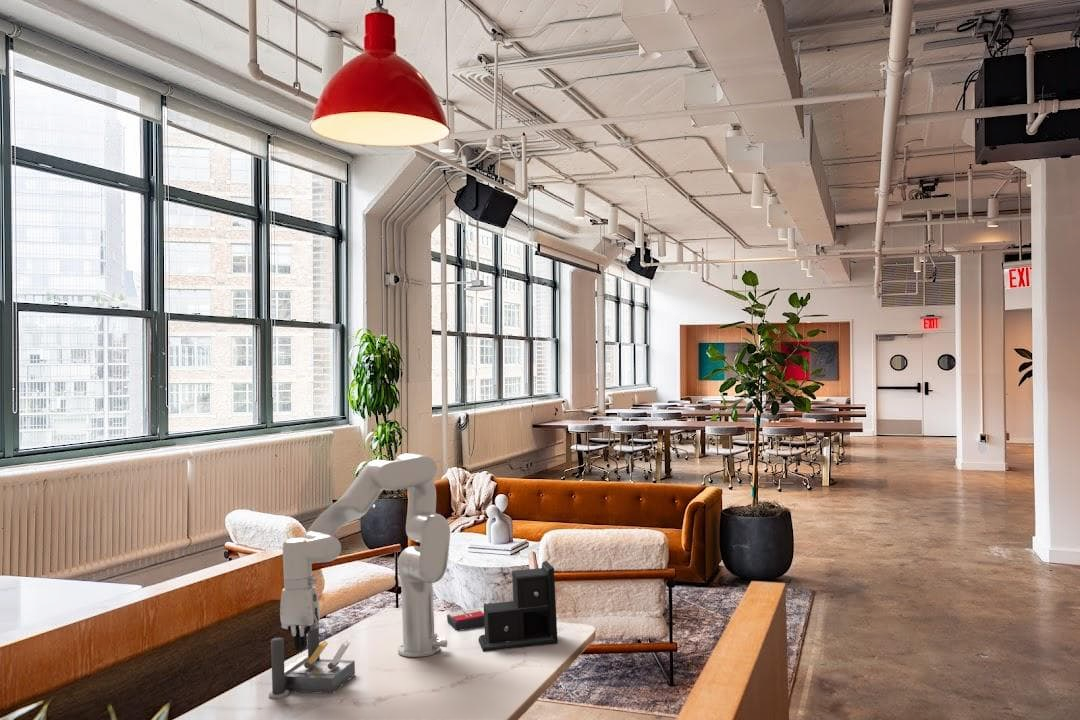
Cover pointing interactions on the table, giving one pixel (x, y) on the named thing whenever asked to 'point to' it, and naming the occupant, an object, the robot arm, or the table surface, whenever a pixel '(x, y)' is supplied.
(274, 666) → the post near
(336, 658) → the paddle white
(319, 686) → the breaker panel
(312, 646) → the post far
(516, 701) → the table surface
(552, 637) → the black drawer organizer
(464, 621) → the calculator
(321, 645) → the paddle amber
